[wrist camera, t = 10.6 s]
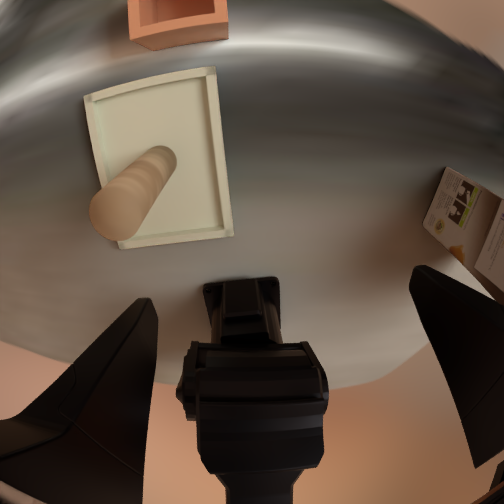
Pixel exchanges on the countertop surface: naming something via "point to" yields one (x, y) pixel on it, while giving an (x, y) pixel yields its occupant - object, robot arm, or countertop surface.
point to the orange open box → (176, 22)
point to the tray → (174, 137)
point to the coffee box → (470, 228)
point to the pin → (131, 194)
